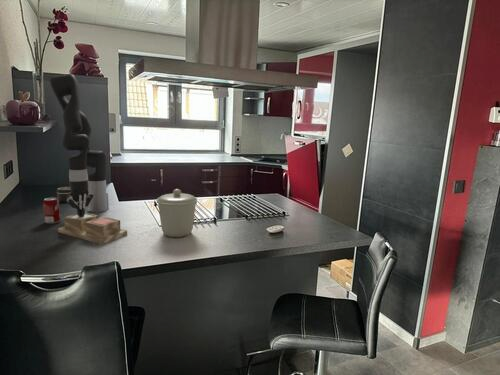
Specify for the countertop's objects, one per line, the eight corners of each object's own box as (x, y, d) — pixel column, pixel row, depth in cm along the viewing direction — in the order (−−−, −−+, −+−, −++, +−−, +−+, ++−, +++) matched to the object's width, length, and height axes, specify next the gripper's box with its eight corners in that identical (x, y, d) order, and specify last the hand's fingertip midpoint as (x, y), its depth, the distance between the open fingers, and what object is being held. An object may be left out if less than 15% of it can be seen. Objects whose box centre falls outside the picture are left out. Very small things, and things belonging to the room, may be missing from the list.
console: (85, 224, 171) (84, 210, 169) (127, 234, 158) (126, 219, 157) (58, 232, 159) (57, 217, 157) (101, 244, 146) (100, 228, 145)
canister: (178, 243, 150) (177, 195, 145) (148, 235, 159) (147, 189, 155) (205, 232, 165) (205, 188, 160) (176, 225, 174) (176, 183, 170)
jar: (54, 200, 214) (53, 188, 213) (70, 197, 223) (69, 186, 221) (63, 203, 209) (62, 190, 207) (79, 200, 217) (78, 188, 215)
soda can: (53, 224, 169) (51, 200, 166) (41, 223, 170) (39, 199, 168) (63, 221, 175) (61, 197, 173) (51, 219, 177) (49, 196, 174)
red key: (104, 224, 159) (103, 218, 159) (115, 227, 156) (114, 220, 155) (91, 228, 153) (90, 221, 152) (102, 231, 150) (101, 224, 149)
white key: (83, 219, 165) (82, 213, 165) (93, 222, 162) (93, 215, 162) (69, 223, 159) (69, 217, 159) (80, 226, 156) (79, 219, 156)
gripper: (85, 176, 164) (88, 212, 168) (59, 180, 153) (62, 218, 156) (97, 178, 161) (99, 214, 164) (70, 182, 149) (73, 221, 153)
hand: (81, 216), depth 160 cm, fingers closed
